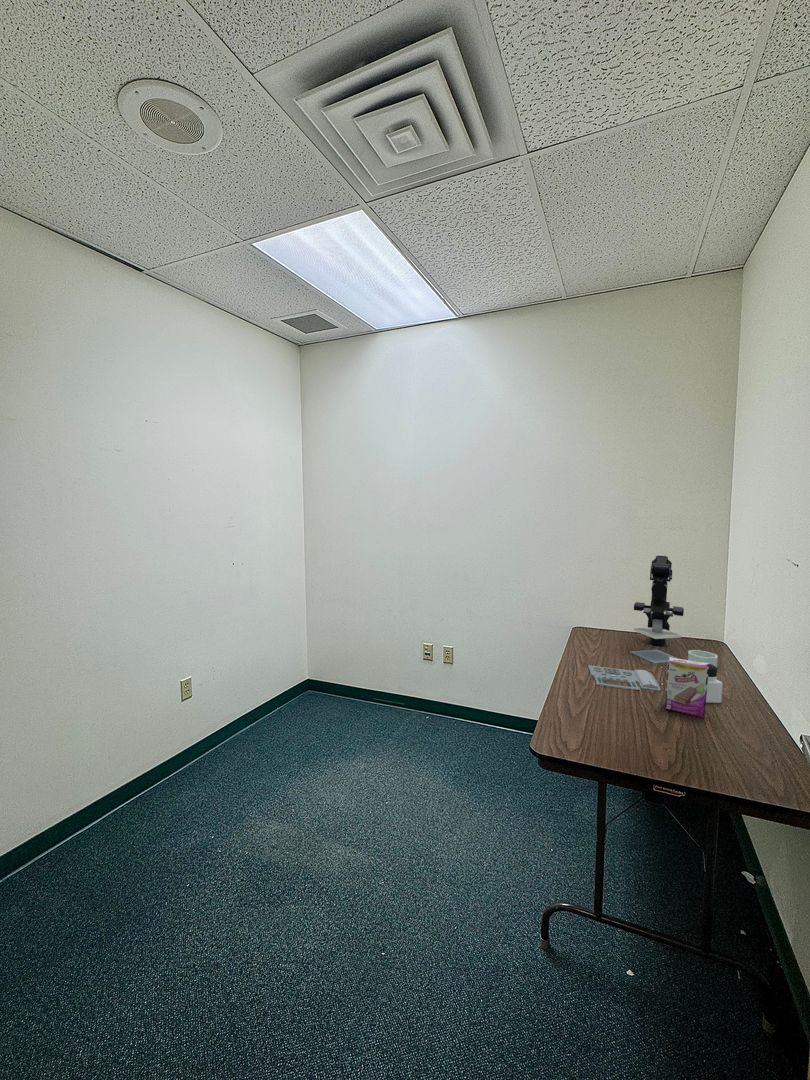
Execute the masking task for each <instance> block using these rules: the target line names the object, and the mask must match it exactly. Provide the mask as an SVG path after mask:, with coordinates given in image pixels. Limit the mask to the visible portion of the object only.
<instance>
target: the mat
mask: <svg viewBox="0 0 810 1080" xmlns="http://www.w3.org/2000/svg"><path fill="white" fill-rule="evenodd" d="M628 652H629V653H631V654H634V655H635V656H637V657H639V658H643V659H644V660H646V661H649V662H651V663H653V664H656V663H657V664H659V663H668V657H672V658H678V659H680V658H679V657H676V656H673V655H672V654H668V653H667V652H663V651H662V650H659V649H647V650H645V649H644V650H632V651H631V650H629V651H628Z"/></svg>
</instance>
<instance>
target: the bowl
mask: <svg viewBox="0 0 810 1080" xmlns="http://www.w3.org/2000/svg"><path fill="white" fill-rule="evenodd" d="M687 653H688V655H687V660H690V661H696V662H702V663H709V664H712V665H714V666H716V668H717V669H718V657H719V656H718V654H716V653H713V652H710V651H704V650H700V649H699V650H698V649H692V650H691V649H690V650H688V651H687Z"/></svg>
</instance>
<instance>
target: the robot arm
mask: <svg viewBox="0 0 810 1080" xmlns="http://www.w3.org/2000/svg"><path fill="white" fill-rule="evenodd" d="M672 565H673V564H672V561H671V560H670V559H669V557H668V556H666V555H655V559H652V561H651V565H650V571H649V573H650V575H649V580H650V581H652V583H651V587H650V588H651V600H650V605H647V604H646V603H645V602H638V601H636V602H635V603H634V604H633V611H637V612H639V611H640V612H642V611H643V612H642V613H643V614H645V615H646V617H647V618H648V619H647V628H652V620H653V619H658V620H662V621H663V627H662V629H665V630H668V631H670V627H671V626H670V625H671V624H670V623H669V621H668V620H669V619H670V617H674V616H679V617H684V613H685V608H684V607H682V606H673V607H671V606H670V605H671V602H670V601H667V598H668V597H667V596H668V584H669V583H670V582H671V581H672V580H673V569H672ZM668 582H669V583H668ZM648 638H649V639H648V641H646V643H647V644H649V645H652V646H654V647H667V646H668V644H666V638H665V639H654V638H652V637H649V636H648Z"/></svg>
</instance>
